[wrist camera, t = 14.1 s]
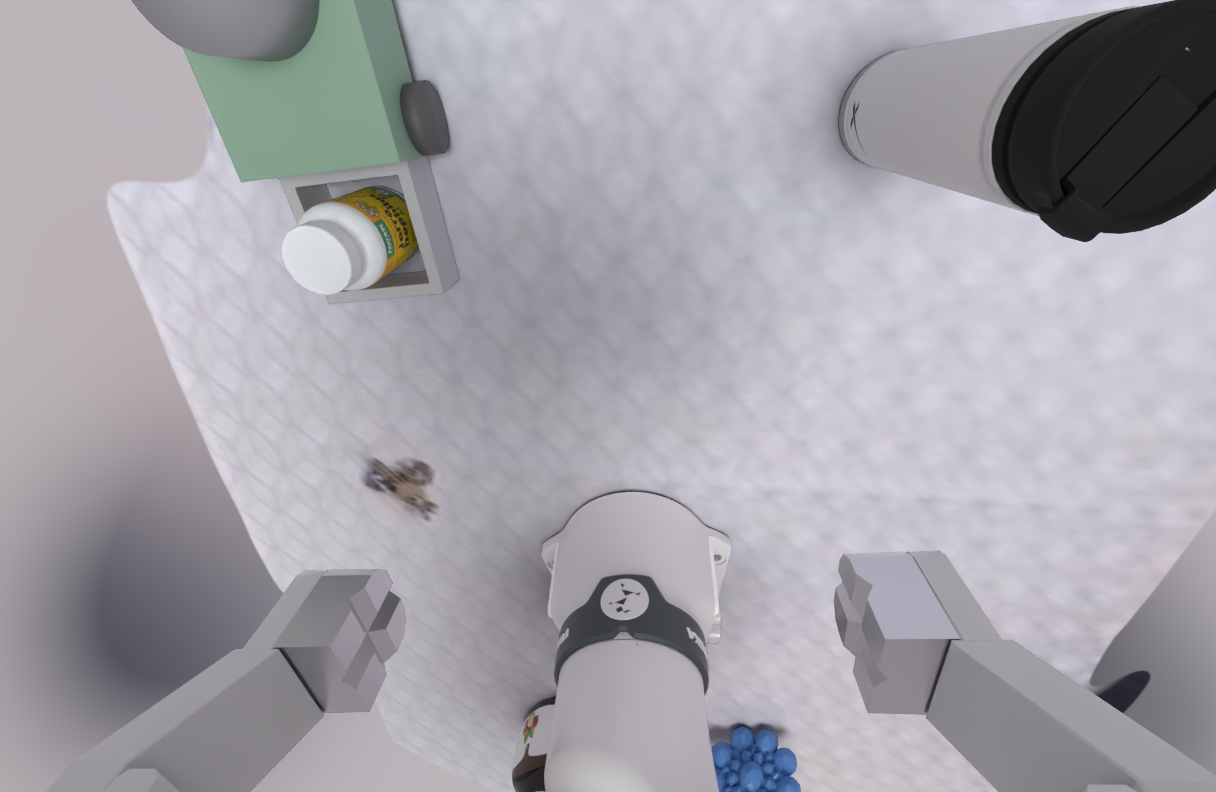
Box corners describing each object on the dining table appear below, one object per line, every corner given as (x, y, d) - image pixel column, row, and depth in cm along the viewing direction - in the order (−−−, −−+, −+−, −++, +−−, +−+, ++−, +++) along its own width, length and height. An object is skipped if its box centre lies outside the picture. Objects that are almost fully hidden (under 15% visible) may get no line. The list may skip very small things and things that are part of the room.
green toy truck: (483, 276, 39) (436, 326, 30) (330, 291, 40) (244, 343, 32) (385, -136, 28) (267, -241, 19) (179, -95, 29) (-18, -176, 21)
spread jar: (567, 685, 65) (553, 793, 55) (628, 725, 68) (625, 834, 58) (505, 717, 69) (481, 822, 59) (565, 753, 73) (552, 858, 63)
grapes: (698, 745, 70) (707, 858, 59) (696, 717, 66) (704, 832, 56) (788, 745, 68) (813, 861, 58) (789, 716, 65) (816, 834, 54)
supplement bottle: (335, 210, 37) (246, 242, 29) (390, 169, 36) (312, 191, 27) (387, 274, 39) (317, 321, 31) (440, 238, 38) (381, 278, 29)
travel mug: (812, 136, 33) (995, 178, 16) (890, 25, 30) (1227, -74, 13) (886, 189, 34) (1131, 284, 17) (968, 89, 31) (1371, 79, 14)
